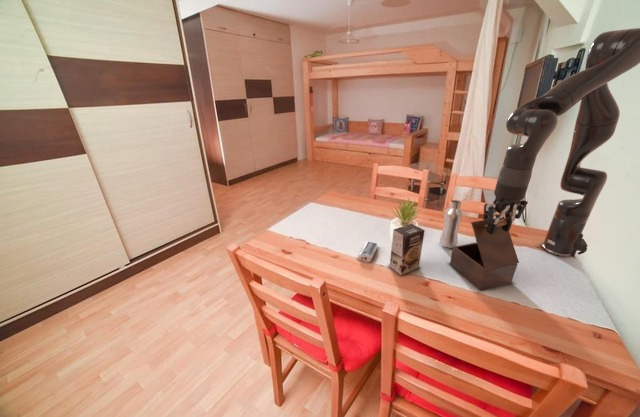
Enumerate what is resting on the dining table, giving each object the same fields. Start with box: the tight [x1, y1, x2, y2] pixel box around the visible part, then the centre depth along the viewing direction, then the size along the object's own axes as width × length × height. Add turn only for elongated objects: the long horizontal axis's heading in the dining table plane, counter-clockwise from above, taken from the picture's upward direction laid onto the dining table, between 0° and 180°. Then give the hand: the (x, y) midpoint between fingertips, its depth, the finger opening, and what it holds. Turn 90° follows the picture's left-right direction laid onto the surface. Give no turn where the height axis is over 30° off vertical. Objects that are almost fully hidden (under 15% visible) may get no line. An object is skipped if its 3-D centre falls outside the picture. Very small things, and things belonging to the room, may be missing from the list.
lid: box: [470, 216, 520, 270], centre depth 83 cm, size 15×13×5 cm
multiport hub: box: [358, 241, 378, 263], centre depth 106 cm, size 4×11×2 cm, turn 155°
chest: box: [449, 241, 519, 291], centre depth 92 cm, size 15×13×8 cm
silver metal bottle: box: [439, 199, 464, 249], centre depth 106 cm, size 6×7×20 cm
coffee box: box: [389, 223, 426, 276], centre depth 95 cm, size 9×6×16 cm
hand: (497, 231), depth 83 cm, fingers closed on lid, 5 cm apart
